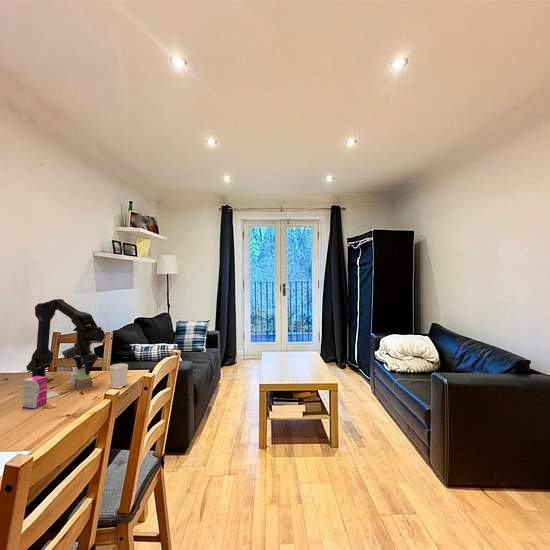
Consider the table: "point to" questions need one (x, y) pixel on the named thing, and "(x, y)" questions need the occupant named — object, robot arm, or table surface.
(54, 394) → the tile
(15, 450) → the table surface
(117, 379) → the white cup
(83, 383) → the walnut base
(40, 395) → the supplement box
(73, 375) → the grey block
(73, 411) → the table surface
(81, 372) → the sage block
